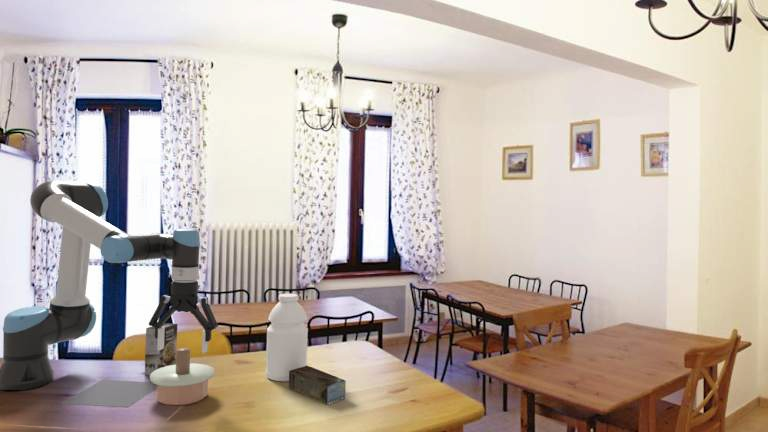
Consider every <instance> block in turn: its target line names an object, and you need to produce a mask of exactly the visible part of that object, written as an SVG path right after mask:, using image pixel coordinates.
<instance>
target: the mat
mask: <svg viewBox="0 0 768 432" xmlns="http://www.w3.org/2000/svg"><path fill="white" fill-rule="evenodd" d="M155 389H157V385H156V384H154V383H152V382H151V381H135V380H134V381H133V380H113V379H112V380H111V379H110V380H109V379H101V380H99V381H98V382H96V383H94V384H92V385H90V386H89V387H87V388H86V389H83V390H82V391H80V392H78V393H76V394H75V395H73V396H70V398H68V399H66V400H63V402H60V404H61V405H74V406H75V405H79V406H95V407H96V406H97V407H112V408H113V407H116V408H117V407H118V408H130V407H131V406H132V405H134V404H135V403H137V402H138V401H140V400H141V399H142V398H144V397H145V396H147V395H148V394H149V393H151V392H152V391H154V390H155Z"/></svg>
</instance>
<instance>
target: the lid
mask: <svg viewBox="0 0 768 432" xmlns="http://www.w3.org/2000/svg"><path fill="white" fill-rule="evenodd" d="M214 376H215V369H214V367H212V366H211V365H207V364H204V363H203V364H202V363H194V362H193V363H191V348H190V347H180V348H177V350H176V365H170V366H166V367H162V368H159V369H157V370H155V371H153V372H152V373H151V374H150V375H149V380H150V381H149V382H152V383H154V384H156V385H160V386H170V387H176V386H188V385H194V384H198V383H201V382H204V381H207V380H208V381H209V380H211V379H212V378H213V377H214Z"/></svg>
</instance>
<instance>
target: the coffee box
mask: <svg viewBox="0 0 768 432" xmlns="http://www.w3.org/2000/svg"><path fill="white" fill-rule="evenodd" d="M161 327H165V333H164V348H163V349H162V350H160V351H159V350H157V343H158V339H156V338H155V327H153V326H149V327H146V330H145V349H144V350H145V351H144V352H145V353H144V354H145V355H144V375H147V376H150V374H151V373H152V372H153V371H155V370H157V369H159V368H162V367H166V366H170V365H176V350H177V349H178V343H177V342H178V323H169V322H168V323H166V322H165V323H164V324H163V326H161Z"/></svg>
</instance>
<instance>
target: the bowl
mask: <svg viewBox="0 0 768 432" xmlns="http://www.w3.org/2000/svg"><path fill="white" fill-rule="evenodd" d="M208 381H209V380H207V381H204V382H201V383H198V384H194V385H188V386H176V387H170V386H160V385H157V387H156V401H157V402H159V403H161V404H163V405H168V406H169V405H171V406H173V405H174V406H180V405H182V406H189V405H191V404H195V403H198V402H200V401H201V400H203V399H204V398H205V397H206V396H208V392H209V391H208V387H209V386H208V385H209V384H208V383H209V382H208Z"/></svg>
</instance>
